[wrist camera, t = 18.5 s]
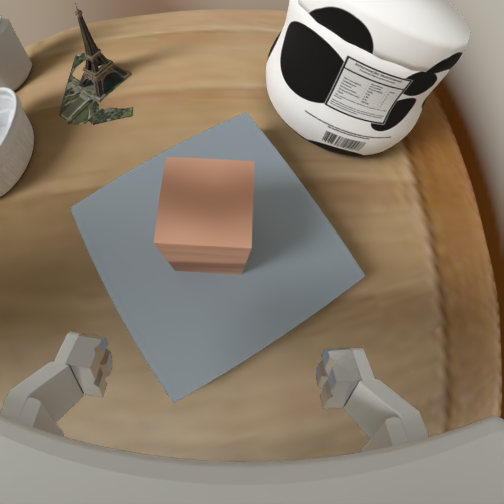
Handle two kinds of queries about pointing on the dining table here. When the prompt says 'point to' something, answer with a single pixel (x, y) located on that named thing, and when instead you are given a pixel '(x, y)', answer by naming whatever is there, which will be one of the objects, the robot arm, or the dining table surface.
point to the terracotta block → (206, 214)
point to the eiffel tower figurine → (92, 85)
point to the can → (12, 58)
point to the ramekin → (13, 139)
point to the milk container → (361, 68)
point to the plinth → (214, 284)
